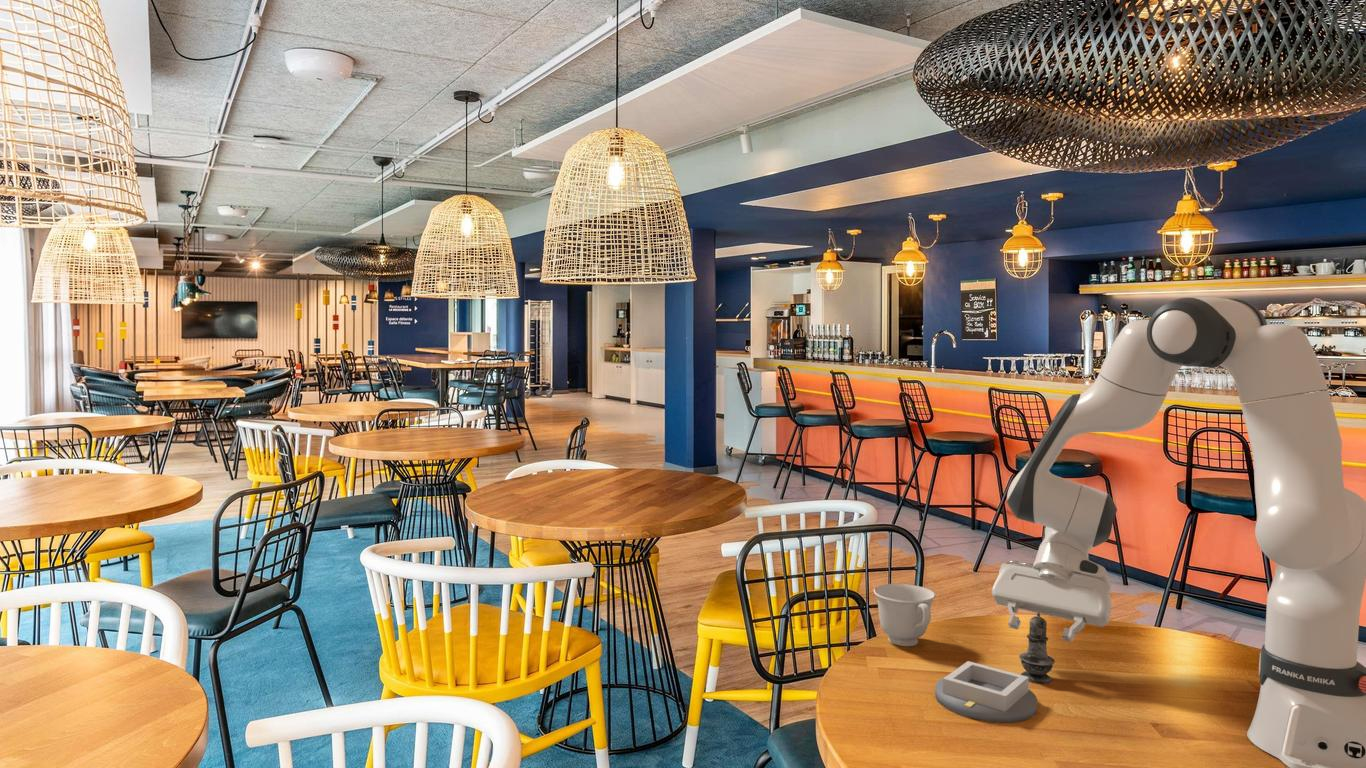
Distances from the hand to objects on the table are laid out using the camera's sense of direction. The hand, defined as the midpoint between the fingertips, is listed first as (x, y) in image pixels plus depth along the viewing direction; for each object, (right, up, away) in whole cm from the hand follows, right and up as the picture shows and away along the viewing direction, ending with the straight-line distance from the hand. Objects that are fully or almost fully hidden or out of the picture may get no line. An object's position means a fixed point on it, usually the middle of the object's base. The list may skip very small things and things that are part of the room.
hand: (1039, 633), depth 153 cm
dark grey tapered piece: (-1, -8, 0) cm, 8 cm away
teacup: (-20, -7, +16) cm, 26 cm away
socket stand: (-14, -8, -11) cm, 19 cm away
